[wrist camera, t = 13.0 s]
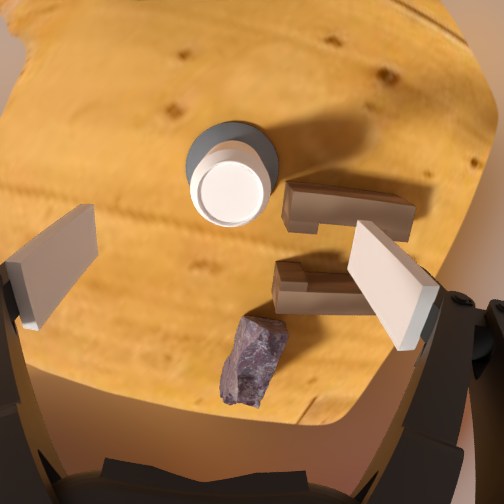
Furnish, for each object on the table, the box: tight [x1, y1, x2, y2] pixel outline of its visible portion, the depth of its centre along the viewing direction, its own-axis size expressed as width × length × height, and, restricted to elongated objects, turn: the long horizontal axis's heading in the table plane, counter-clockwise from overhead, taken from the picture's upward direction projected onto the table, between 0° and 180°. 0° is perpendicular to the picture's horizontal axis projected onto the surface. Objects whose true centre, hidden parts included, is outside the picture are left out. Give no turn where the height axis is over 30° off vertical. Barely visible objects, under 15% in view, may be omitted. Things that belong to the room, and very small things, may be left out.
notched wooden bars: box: [272, 181, 416, 315], centre depth 36 cm, size 14×14×5 cm
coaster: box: [186, 122, 279, 191], centre depth 34 cm, size 10×10×1 cm
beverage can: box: [190, 140, 271, 227], centre depth 28 cm, size 6×6×12 cm
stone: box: [219, 316, 289, 408], centre depth 40 cm, size 10×6×15 cm
